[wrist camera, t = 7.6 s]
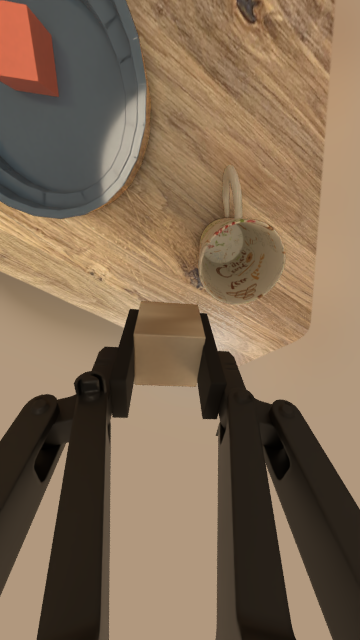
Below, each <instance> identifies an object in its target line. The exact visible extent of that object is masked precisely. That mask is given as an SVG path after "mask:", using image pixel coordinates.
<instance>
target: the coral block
mask: <svg viewBox="0 0 360 640" xmlns="http://www.w3.org/2000/svg"><path fill="white" fill-rule="evenodd" d="M0 81H1V82H2V83H4V84H6V85H8V86H9V87H11V88H13V89H14V90H17V91H23V92H30V93H36V94H43V95H49V96H55V97H59V93H58V85H57V77H56V69H55V61H54V53H53V45H52V37H51V34H50V33H49V32H48V31H47V29H46V28H45V27H44V26H43V24H42V23H41V22H40V21H39V20H38V18H37V17H36V16H35V15H34V14H33V12H32V11H31V10H30V9H29V7H28V6H27V5H25V4H19V3H14V2H9V1H3V0H0Z"/></svg>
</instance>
